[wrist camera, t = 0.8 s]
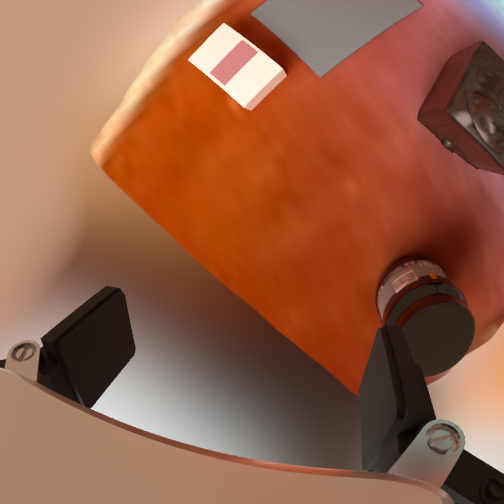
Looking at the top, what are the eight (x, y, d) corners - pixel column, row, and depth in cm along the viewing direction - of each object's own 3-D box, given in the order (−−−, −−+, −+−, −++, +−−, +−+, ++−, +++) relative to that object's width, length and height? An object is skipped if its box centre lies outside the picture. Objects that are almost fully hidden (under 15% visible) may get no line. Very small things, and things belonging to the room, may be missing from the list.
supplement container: (424, 330, 38) (447, 387, 27) (361, 313, 39) (371, 372, 28) (457, 266, 34) (496, 311, 23) (392, 242, 35) (418, 285, 24)
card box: (233, 33, 30) (223, 22, 26) (287, 76, 31) (282, 68, 27) (200, 66, 32) (187, 59, 29) (252, 110, 33) (243, 107, 30)
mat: (352, -52, 22) (352, -53, 21) (421, 6, 23) (422, 5, 23) (251, 14, 29) (250, 13, 28) (320, 78, 30) (320, 77, 30)
